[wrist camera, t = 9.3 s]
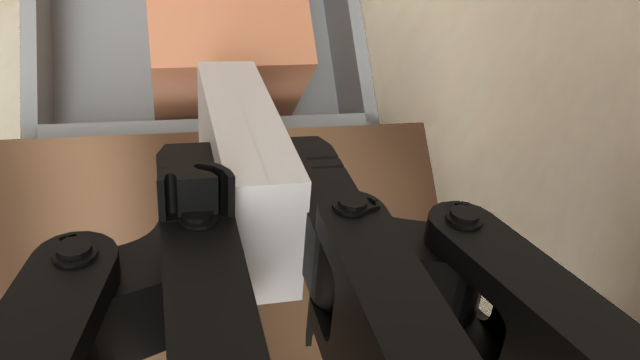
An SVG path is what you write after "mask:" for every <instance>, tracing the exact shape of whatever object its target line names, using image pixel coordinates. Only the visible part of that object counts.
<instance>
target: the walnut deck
mask: <svg viewBox="0 0 640 360" xmlns="http://www.w3.org/2000/svg"><path fill="white" fill-rule="evenodd" d="M286 130H287V132H288V134H289V136H290V137H302V136H319V137H320V138H322V139H323V140H325V141H326V142H328V143H329V144H331V145H332V146H333V148H334V150H335V151H336V153H337V155H338V158H340V160H341V161H342V163H343V165H344V167H345V168H346V170H347V171H348V173H349V175H350V176H351V178H352V180H353V181H354V183H355V185H356V187H357V188H358V190H359V191H361V192H365V193H368V194H370V195H372V196H374V197H376V198H378V199H379V200H380V201H381V202H382V203H383V204H384V205H385V206H386V208H387V209H388V211H389V212H390V214H391V216H392V217H397V218H402V219H410V220H418V221H427V218H428V213H429V211H430V209H431V208H432V207H433V206H434V205H437V204H438V203H437V197H436V192H435V186H434V180H433V175H432V169H431V163H430V158H429V152H428V146H427V141H426V135H425V129H424V124H423V123H404V124H380V125H355V126H331V127H306V128H286ZM198 142H199V132H184V133H159V134H135V135H111V136H86V137H62V138H37V139H13V140H0V300H1V298H2V297H3V295H4V294H5V292H6V291H7V289H8V288H9V286H10V285H11V283H12V282H13V280H14V279H15V277H16V276H17V274H18V273H19V271H20V270H21V268H22V267H23V265H24V264H25V262H26V261H27V259H28V258H29V256H30V255H31V253H32V252H33V251H34V250H35V249H36V248H37V247H38V246H39V245H40V244H41V243H43V242H45V241H47V240H49V239H50V238H52V237H54V236H57V235H61V234H64V233H68V232H74V231H92V232H98V233H103V234H105V235H106V236H108V237H110V238H112V239H113V240H114V241H115V243H116V244H117V246H119V245H123V244H126V243H129V242H132V241H135V240H137V239H139V238H141V237H143V236H145V235H147V234H148V233H149V232H150V231H151V230H152V229H154V227H155V226H156V224H157V223H158V219H159V216H158V200H157V185H156V180H157V167H156V154H157V153H158V152H159V151H160V149H161V148H162V147H163V146H164V144H174V143H198ZM308 303H309V291H308V289H307V286H306V283H305V280H304V283H303V295H302V300H298V301H289V302H280V303H271V304H262V305H257V307H258V311H259V315H260V319H261V323H262V327H263V331H264V335H265V339H266V343H267V347H268V351H269V355H270V359H271V360H323V359H322V356H321V353H320V350H319V347H318V344H317V341H316V338H315V335H314V334H313V336H312V344H311V346H307V347H306V339H305V337H306V326H307V315H308ZM143 360H166V351H164V352H161V353H159V354H156V355H154V356H151V357H148V358H146V359H143Z"/></svg>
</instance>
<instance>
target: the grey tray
mask: <svg viewBox="0 0 640 360" xmlns="http://www.w3.org/2000/svg"><path fill="white" fill-rule="evenodd" d="M309 6H310V13H311V20H312V26H313V33H314V40H315V47H316V53H317V60H318V65H317V67H316V69H315V71H314V73H313V75H312V77H311V79H310V81H309V83H308V85H307V87H306V89H305V91H304V93H303V95H302V96H301V98H300V100H299V102H298V104H297V106H296V108H295V110H294V112H293V114H292V116H280V117H281V119H282V122H283V124H284V126H285V128H306V127H331V126H355V125H380V124H379V118H378V111H377V105H376V99H375V92H374V86H373V80H372V73H371V67H370V61H369V54H368V48H367V42H366V35H365V29H364V23H363V16H362V10H361V4H360V0H309ZM20 126H21V139H37V138H62V137H86V136H111V135H135V134H159V133H184V132H199V125H198V119H180V120H155V117H154V104H153V91H152V78H151V65H150V52H149V39H148V26H147V13H146V0H20Z"/></svg>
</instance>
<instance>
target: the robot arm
mask: <svg viewBox="0 0 640 360" xmlns="http://www.w3.org/2000/svg"><path fill="white" fill-rule="evenodd" d="M197 84H198V125H199V142H198V143H174V144H164V146H163V147H162V148H161V149H160V151H159V152H158V153H157V154H156V167H157V180H156V185H157V200H158V216H159V219H158V223H157V224H156V226H155V227H154V229H152V230H151V231H150V232H149V233H148V234H147V235H145V236H143V237H141V238H139V239H137V240H135V241H132V242H129V243H126V244H123V245H119V246H117V244H116V243H115V241H114V240H113V239H112V238H110V237H108V236H106V235H105V234H103V233H98V232H92V231H74V232H68V233H64V234H61V235H57V236H54V237H52V238H50V239H49V240H47V241H45V242H43V243H41V244H40V245H39V246H38V247H37V248H36V249H35V250H34V251H33V252H32V253H31V255H30V256H29V258H28V259H27V261H26V262H25V264H24V265H23V267H22V268H21V270H20V271H19V273H18V274H17V276H16V277H15V279H14V280H13V282H12V283H11V285H10V286H9V288H8V289H7V291H6V292H5V294H4V295H3V297H2V298H1V300H0V360H143V359H146V358H148V357H151V356H154V355H156V354H159V353H161V352H164V351H166V360H271V359H270V355H269V351H268V347H267V343H266V339H265V335H264V331H263V327H262V323H261V319H260V315H259V311H258V307H257V305H262V304H271V303H280V302H289V301H298V300H302V295H303V283H304V280H305V283H306V286H307V289H308V291H309V303H308V315H307V326H306V337H305V339H306V347H307V346H311V344H312V336H313V334H314V335H315V338H316V341H317V344H318V347H319V350H320V353H321V356H322V359H323V360H640V324H639V323H638V322H637V321H635V320H634V319H632V318H631V317H630V316H628V315H627V314H626V313H624V312H623V311H622V310H620V309H619V308H618V307H616V306H615V305H614V304H612V303H611V302H610V301H608V300H607V299H606V298H604V297H603V296H602V295H600V294H599V293H598V292H596V291H595V290H594V289H592V288H591V287H590V286H588V285H587V284H586V283H584V282H583V281H581V280H580V279H579V278H577V277H576V276H575V275H573V274H572V273H571V272H569V271H568V270H567V269H565V268H564V267H563V266H561V265H560V264H559V263H557V262H556V261H555V260H553V259H552V258H551V257H549V256H548V255H547V254H545V253H544V252H543V251H541V250H540V249H539V248H537V247H536V246H535V245H533V244H532V243H530V242H529V241H528V240H526V239H525V238H524V237H522V236H521V235H520V234H518V233H517V232H516V231H514V230H513V229H512V228H510V227H509V226H508V225H506V224H505V223H504V222H502V221H501V220H500V219H498V218H497V217H496V216H494V215H493V214H492V213H490V212H488V211H487V210H485V209H483V208H481V207H479V206H476V205H473V204H470V203H468V202H463V201H461V202H460V201H449V202H441V203H439V204H437V205H434V206H433V207H432V208H431V209H430V211H429V213H428V218H427V221H418V220H410V219H402V218H397V217H392V216H391V214H390V212H389V211H388V209H387V208H386V206H385V205H384V204H383V203H382V202H381V201H380V200H379V199H378V198H376V197H374V196H372V195H370V194H368V193H365V192H361V191H359V190H358V188H357V187H356V185H355V183H354V181H353V180H352V178H351V176H350V175H349V173H348V171H347V170H346V168H345V167H344V165H343V163H342V161H341V160H340V158H338V155H337V153H336V151H335V150H334V148H333V146H332V145H331V144H329V143H328V142H326V141H325V140H323V139H322V138H320V137H319V136H302V137H290V136H289V134H288V132H287V130H286V128H285V126H284V124H283V122H282V119H281V117H280V115H279V113H278V111H277V109H276V107H275V105H274V103H273V101H272V99H271V96H270V94H269V92H268V90H267V88H266V86H265V84H264V82H263V80H262V78H261V76H260V73H259V71H258V69H257V67H256V65H255V63H254V61H200V62H197ZM481 295H482V296H483V297H484V298H485V299H486V300H488V301H489V302H490V303H491V304H492V305H493V309H492V313H491V315H490V317H488V316H487V315H485V314H484V313H483V312H482V311H481V310H479V309H478V306H479V303H480V299H481Z"/></svg>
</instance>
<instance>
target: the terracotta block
mask: <svg viewBox="0 0 640 360" xmlns="http://www.w3.org/2000/svg"><path fill="white" fill-rule="evenodd" d="M146 13H147V26H148V39H149V52H150V65H151V78H152V91H153V104H154V117H155V120H180V119H198V84H197V62H200V61H254V63H255V65H256V67H257V69H258V71H259V73H260V76H261V78H262V80H263V82H264V84H265V86H266V88H267V90H268V92H269V94H270V96H271V99H272V101H273V103H274V105H275V107H276V109H277V111H278V113H279V115H280V116H292V114H293V112H294V110H295V108H296V106H297V104H298V102H299V100H300V98H301V96H302V95H303V93H304V91H305V89H306V87H307V85H308V83H309V81H310V79H311V77H312V75H313V73H314V71H315V69H316V67H317V65H318V60H317V53H316V47H315V40H314V33H313V26H312V20H311V13H310V6H309V0H146Z"/></svg>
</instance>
